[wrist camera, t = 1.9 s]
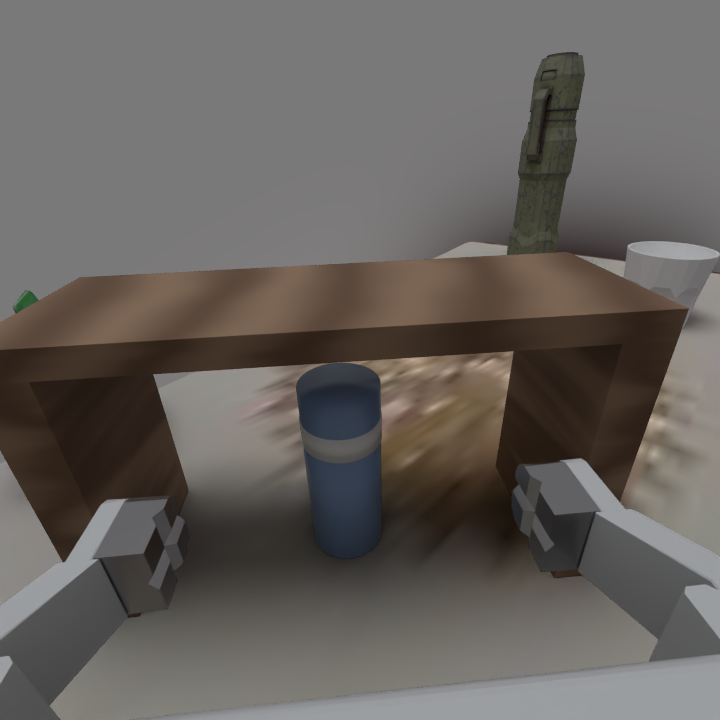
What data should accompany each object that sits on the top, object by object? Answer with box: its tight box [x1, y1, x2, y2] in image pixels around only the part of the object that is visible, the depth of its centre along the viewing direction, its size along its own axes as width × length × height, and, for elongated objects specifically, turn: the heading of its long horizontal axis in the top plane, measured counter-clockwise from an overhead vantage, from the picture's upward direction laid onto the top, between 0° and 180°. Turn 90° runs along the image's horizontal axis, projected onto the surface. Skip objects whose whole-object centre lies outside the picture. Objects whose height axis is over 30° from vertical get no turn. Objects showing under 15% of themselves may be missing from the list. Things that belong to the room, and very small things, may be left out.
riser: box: [0, 252, 689, 617], centre depth 25 cm, size 30×10×18 cm, turn 94°
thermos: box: [507, 52, 585, 255], centre depth 75 cm, size 9×12×35 cm
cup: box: [624, 241, 720, 329], centre depth 58 cm, size 10×10×10 cm
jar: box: [296, 363, 382, 559], centre depth 27 cm, size 5×5×12 cm
